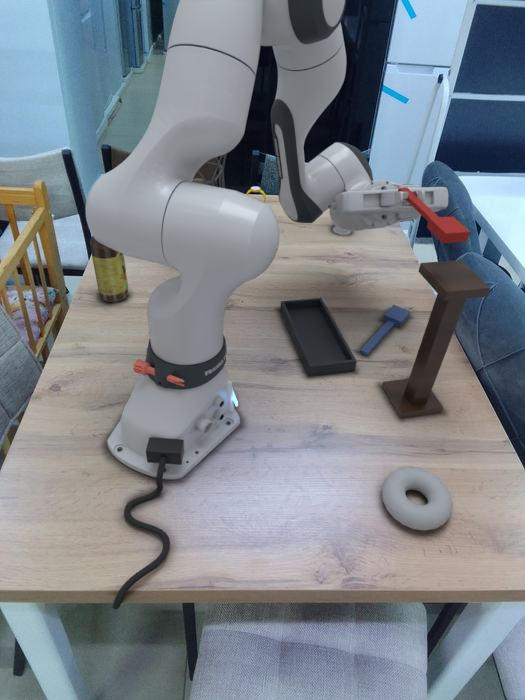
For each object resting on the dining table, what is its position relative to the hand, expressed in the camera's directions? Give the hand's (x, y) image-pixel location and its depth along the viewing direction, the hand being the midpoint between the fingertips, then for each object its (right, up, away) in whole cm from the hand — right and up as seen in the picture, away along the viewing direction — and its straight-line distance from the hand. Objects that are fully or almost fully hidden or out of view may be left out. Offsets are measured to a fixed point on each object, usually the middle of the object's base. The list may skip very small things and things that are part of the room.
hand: (412, 196), depth 83 cm
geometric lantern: (-41, -3, +41) cm, 58 cm away
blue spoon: (+1, -21, +23) cm, 31 cm away
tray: (-14, -23, +19) cm, 33 cm away
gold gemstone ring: (-27, +16, +65) cm, 73 cm away
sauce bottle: (-57, -14, +27) cm, 65 cm away
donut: (-3, -48, -9) cm, 49 cm away
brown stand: (+2, -34, +8) cm, 35 cm away
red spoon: (+1, -5, -4) cm, 6 cm away
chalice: (-3, +8, +57) cm, 58 cm away
